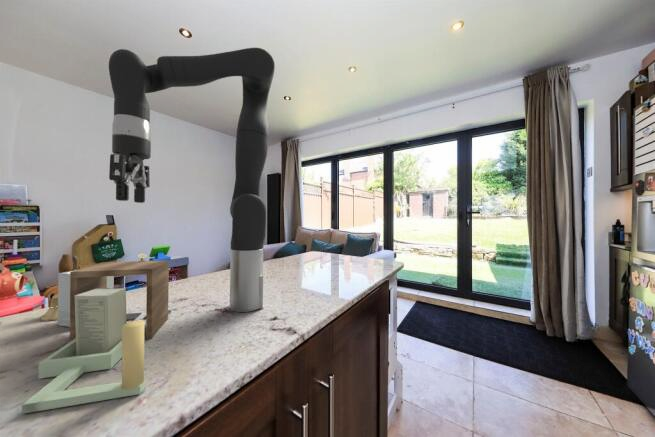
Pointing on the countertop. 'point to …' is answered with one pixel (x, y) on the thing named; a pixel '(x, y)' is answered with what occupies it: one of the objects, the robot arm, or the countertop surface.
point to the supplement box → (65, 297)
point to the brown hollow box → (99, 272)
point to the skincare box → (99, 320)
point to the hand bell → (52, 313)
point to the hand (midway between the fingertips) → (131, 201)
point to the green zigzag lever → (73, 367)
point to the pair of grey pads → (136, 315)
